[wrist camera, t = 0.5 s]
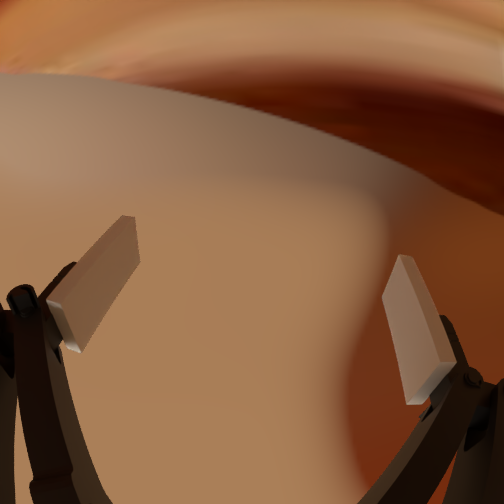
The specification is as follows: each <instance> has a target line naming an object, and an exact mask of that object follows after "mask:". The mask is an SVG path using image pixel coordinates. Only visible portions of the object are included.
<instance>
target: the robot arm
mask: <svg viewBox="0 0 504 504" xmlns="http://www.w3.org/2000/svg"><path fill="white" fill-rule="evenodd" d="M139 263H140V257H139V250H138V241H137V232H136V223H135V217H130V216H121V217H120V218H119V219H118V220H117V221H116V222H115V223H114V224H113V225H112V226H111V227H110V228H109V229H108V230H107V231H106V232H105V233H104V234H103V235H102V236H101V238H99V240H98V241H97V242H96V243H95V244H94V245H93V246H92V247H91V248H90V249H89V250H88V251H87V252H86V253H85V255H84V256H83V257H82V258H81V259H80V260H79V261H78V262H72V263H70V264H69V265H67V266H65V267H64V268H63V269H62V270H61V271H60V272H59V273H58V276H56V277H55V278H54V279H53V281H52V282H51V283H50V284H49V285H48V286H47V287H46V288H45V290H44V291H43V292H42V293H41V294H40V296H39V297H38V298H37V295H36V293H35V290H34V288H33V287H32V286H31V285H28V284H23V285H19V286H17V287H15V288H13V289H12V290H11V291H10V292H9V293H8V295H7V298H6V300H7V302H8V304H9V307H10V309H11V310H3V307H2V305H1V303H0V504H15V483H14V435H15V418H16V406H17V396H18V400H19V408H20V415H21V421H22V427H23V433H24V437H25V443H26V447H27V452H28V456H29V460H30V464H31V468H32V472H33V480H32V481H31V482H30V485H29V488H30V494H31V497H32V500H33V503H34V504H113V503H112V502H111V500H110V499H109V498H108V496H107V495H106V493H105V491H104V490H103V487H102V485H101V483H100V480H99V478H98V475H97V473H96V471H95V468H94V465H93V463H92V460H91V457H90V455H89V452H88V449H87V446H86V443H85V440H84V437H83V434H82V431H81V428H80V425H79V421H78V418H77V415H76V411H75V408H74V404H73V400H72V396H71V393H70V389H69V385H68V380H67V376H66V372H65V367H64V362H63V357H62V352H61V349H60V347H59V344H60V343H61V341H62V340H64V342H65V345H66V347H67V348H68V349H70V350H73V351H77V352H79V353H82V352H83V350H84V348H85V347H86V345H87V343H88V342H89V340H90V338H91V337H92V335H93V333H94V332H95V330H96V328H97V327H98V325H99V324H100V322H101V321H102V319H103V317H104V316H105V314H106V313H107V311H108V310H109V308H110V306H111V305H112V303H113V302H114V300H115V299H116V297H117V296H118V294H119V293H120V291H121V289H122V288H123V287H124V285H125V284H126V282H127V280H128V279H129V278H130V276H131V275H132V273H133V272H134V270H135V269H136V268H137V266H138V265H139ZM382 300H383V303H384V307H385V311H386V315H387V319H388V323H389V326H390V330H391V334H392V339H393V342H394V347H395V350H396V355H397V360H398V364H399V369H400V374H401V379H402V383H403V388H404V394H405V399H406V404H407V405H408V404H423V403H424V401H425V400H426V399H427V398H428V397H429V396H430V400H431V404H430V406H429V407H428V408H427V409H426V410H425V411H424V412H423V413H422V414H421V415H420V416H419V418H421V419H420V421H419V422H418V424H417V425H416V427H415V429H414V430H413V432H412V433H411V435H410V436H409V438H408V439H407V441H406V442H405V444H404V445H403V446H402V448H401V449H400V451H399V452H398V453H397V455H396V456H395V458H394V459H393V460H392V462H391V463H390V464H389V466H388V467H387V468H386V470H385V471H384V472H383V474H382V475H381V476H380V477H379V479H378V480H377V481H376V482H375V484H374V485H373V486H372V487H371V488H370V490H369V491H368V492H367V493H366V494H365V496H364V497H363V498H362V499H361V500H360V501H359V502H358V504H427V503H428V501H429V499H430V498H431V496H432V494H433V493H434V491H435V490H436V488H437V486H438V485H439V483H440V481H441V480H442V478H443V476H444V474H445V473H446V471H447V469H448V467H449V465H450V463H451V461H452V459H453V458H454V456H455V454H456V452H457V455H456V459H455V463H454V467H453V470H452V474H451V477H450V481H449V484H448V487H447V491H446V494H445V497H444V500H443V503H442V504H504V378H503V379H501V380H500V382H499V383H498V384H497V385H494V384H491V383H487V382H484V381H483V377H482V376H481V375H480V373H479V372H478V371H477V370H476V369H474V368H472V367H469V365H468V363H467V360H466V357H465V355H464V352H463V349H462V347H461V345H460V342H459V339H458V337H457V335H456V332H455V330H454V327H453V325H452V323H451V322H450V321H449V320H448V318H447V317H446V316H444V315H438V312H437V310H436V307H435V305H434V303H433V300H432V298H431V296H430V294H429V291H428V289H427V287H426V285H425V282H424V281H423V278H422V276H421V274H420V272H419V270H418V268H417V266H416V263H415V261H414V259H413V257H412V256H406V255H398V258H397V260H396V263H395V266H394V268H393V271H392V274H391V276H390V278H389V281H388V283H387V286H386V288H385V291H384V293H383V295H382ZM457 450H458V451H457Z"/></svg>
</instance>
